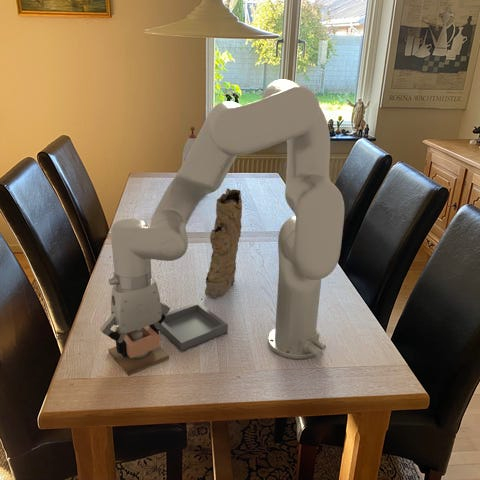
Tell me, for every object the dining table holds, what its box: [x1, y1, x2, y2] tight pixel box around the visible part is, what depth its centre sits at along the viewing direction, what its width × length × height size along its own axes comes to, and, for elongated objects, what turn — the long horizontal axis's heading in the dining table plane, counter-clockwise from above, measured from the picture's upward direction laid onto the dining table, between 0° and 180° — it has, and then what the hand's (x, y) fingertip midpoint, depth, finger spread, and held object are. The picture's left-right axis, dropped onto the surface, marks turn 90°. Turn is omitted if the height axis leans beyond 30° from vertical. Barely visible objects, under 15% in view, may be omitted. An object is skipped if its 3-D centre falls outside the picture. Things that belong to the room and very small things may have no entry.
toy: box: [181, 126, 197, 165], centre depth 211 cm, size 11×11×30 cm
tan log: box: [204, 188, 243, 299], centre depth 132 cm, size 14×10×30 cm
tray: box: [159, 301, 229, 353], centre depth 121 cm, size 13×13×3 cm
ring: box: [124, 326, 161, 358], centre depth 109 cm, size 7×7×3 cm
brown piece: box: [108, 328, 170, 377], centre depth 110 cm, size 10×10×7 cm
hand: (138, 347), depth 110 cm, fingers closed on ring, 7 cm apart
